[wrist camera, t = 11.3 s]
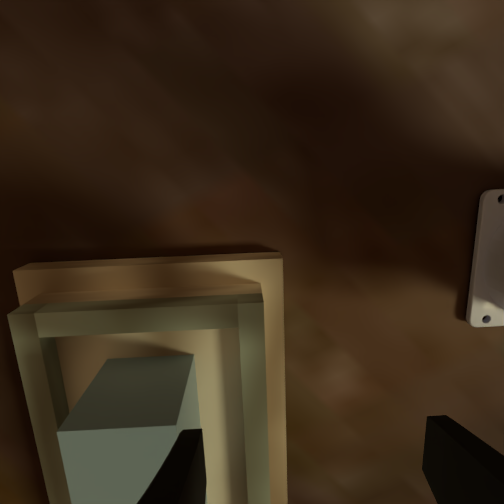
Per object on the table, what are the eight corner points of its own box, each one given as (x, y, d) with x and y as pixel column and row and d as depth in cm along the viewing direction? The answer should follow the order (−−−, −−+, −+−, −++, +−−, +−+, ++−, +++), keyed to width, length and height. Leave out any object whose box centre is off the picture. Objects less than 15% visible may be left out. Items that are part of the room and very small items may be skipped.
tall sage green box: (194, 354, 18) (176, 425, 13) (209, 522, 20) (199, 634, 16) (107, 359, 18) (56, 431, 13) (133, 527, 20) (100, 640, 15)
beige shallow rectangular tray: (279, 251, 20) (289, 274, 16) (285, 527, 25) (294, 599, 20) (29, 262, 19) (-27, 288, 15) (85, 538, 24) (53, 614, 20)
